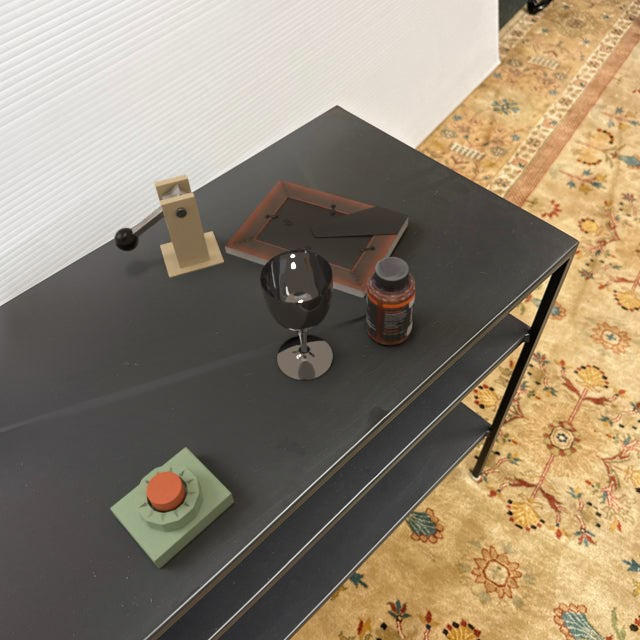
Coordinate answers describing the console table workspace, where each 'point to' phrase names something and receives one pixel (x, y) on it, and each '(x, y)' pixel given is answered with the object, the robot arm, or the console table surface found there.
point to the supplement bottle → (390, 302)
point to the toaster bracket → (185, 231)
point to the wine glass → (299, 309)
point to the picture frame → (320, 232)
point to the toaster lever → (143, 224)
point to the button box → (180, 523)
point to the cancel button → (165, 491)
